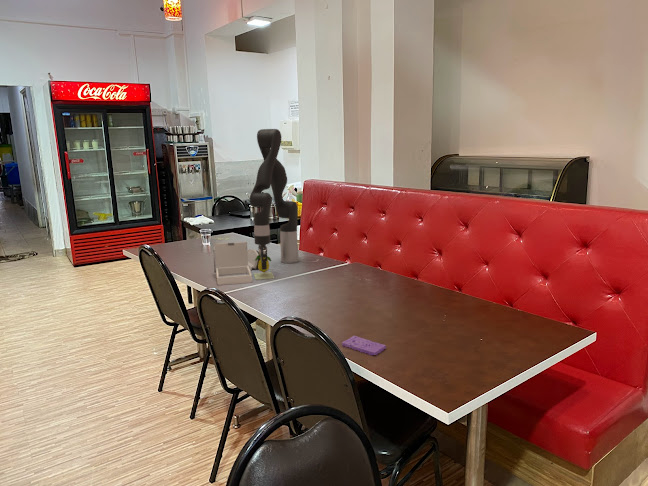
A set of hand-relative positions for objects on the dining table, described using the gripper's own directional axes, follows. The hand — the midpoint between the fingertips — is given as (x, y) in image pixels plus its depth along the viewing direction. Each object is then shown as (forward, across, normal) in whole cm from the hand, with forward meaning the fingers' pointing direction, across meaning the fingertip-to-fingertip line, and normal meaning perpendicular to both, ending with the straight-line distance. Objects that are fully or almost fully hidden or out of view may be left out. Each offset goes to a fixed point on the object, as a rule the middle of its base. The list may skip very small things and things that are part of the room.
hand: (263, 267), depth 239 cm
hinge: (+5, +22, +3) cm, 22 cm away
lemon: (+3, 0, 0) cm, 3 cm away
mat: (+4, 0, 0) cm, 4 cm away
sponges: (+5, -94, -21) cm, 96 cm away
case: (+4, +1, +15) cm, 16 cm away
